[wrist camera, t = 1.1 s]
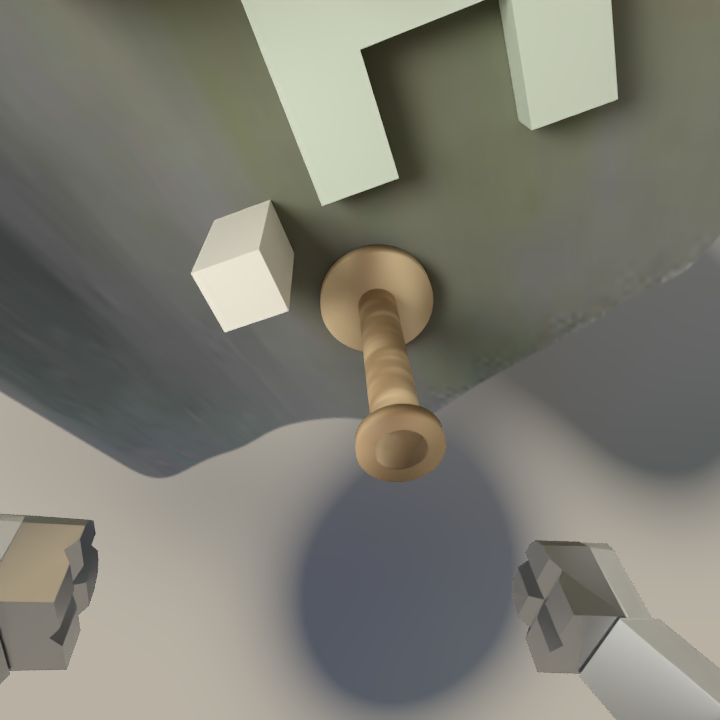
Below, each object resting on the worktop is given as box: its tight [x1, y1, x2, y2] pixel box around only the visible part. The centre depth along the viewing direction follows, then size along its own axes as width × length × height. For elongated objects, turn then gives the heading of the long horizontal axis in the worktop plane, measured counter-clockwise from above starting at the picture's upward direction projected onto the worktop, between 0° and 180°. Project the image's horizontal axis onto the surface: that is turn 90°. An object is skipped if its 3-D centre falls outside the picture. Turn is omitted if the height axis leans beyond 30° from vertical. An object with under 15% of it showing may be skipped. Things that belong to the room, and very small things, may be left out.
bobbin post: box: [320, 245, 446, 482], centre depth 38 cm, size 9×9×18 cm
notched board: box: [241, 0, 618, 206], centre depth 34 cm, size 20×13×3 cm, turn 109°
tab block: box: [191, 200, 294, 332], centre depth 39 cm, size 4×4×9 cm
